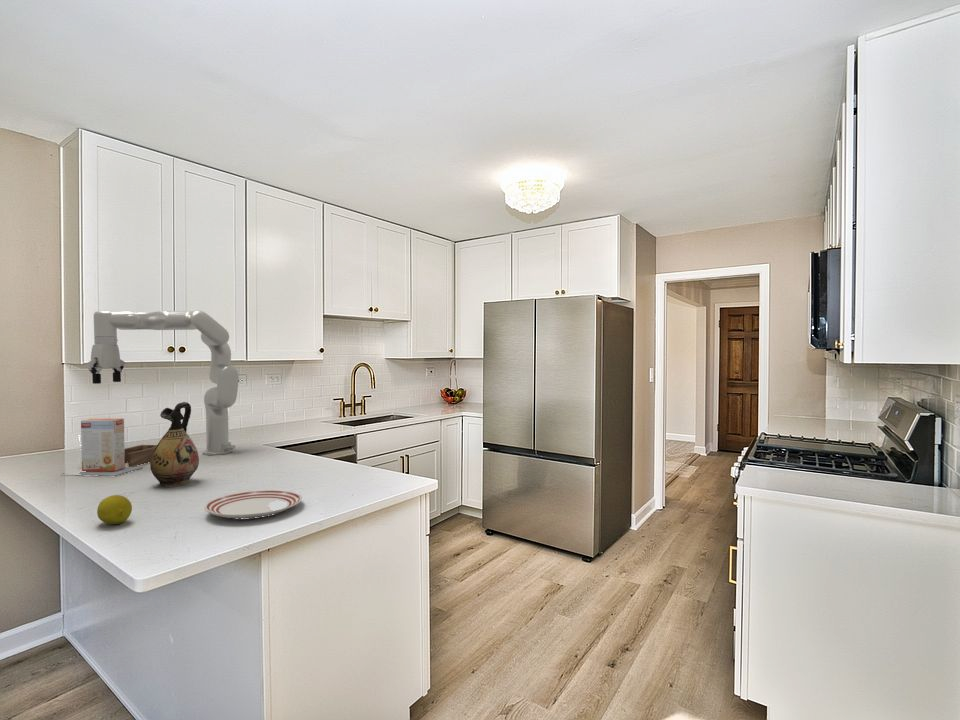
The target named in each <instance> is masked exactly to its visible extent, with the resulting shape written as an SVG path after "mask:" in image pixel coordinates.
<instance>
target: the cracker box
mask: <svg viewBox="0 0 960 720" xmlns="http://www.w3.org/2000/svg"><path fill="white" fill-rule="evenodd" d="M80 436H81V437H80V439H81V443H80V444H81V468H82V471H118V470H121V469H124V468H125V467H126V463H125V418H86V419H82V420H80Z"/></svg>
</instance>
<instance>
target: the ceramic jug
mask: <svg viewBox="0 0 960 720" xmlns="http://www.w3.org/2000/svg"><path fill="white" fill-rule="evenodd" d="M182 409H184V414H183V413H182V412H181V411H182ZM191 413H192V406H191V404H190V403H189V402H186V401H182V402H179V403H177V404H176V405H175V406H174V408H173V409H172V408H169V407H166V408H164V409H163V410H161V411H160V415H159V416H160V417H161V419H164V420H166V421H169V422H171V424H170V427H169V428H168V430H167V431H166V432H165V433H164V435H163V436H162V438H161V439H160V440H159V442H158V443H157V444H156V445H157V446H156V448H155V450H154V452H153V454H152V458H151V462H150V463H149V466H150V468H149V469H150V471H151V474H152V475H153V477H154V478H155V479H156V480H157V481H158V483H159V486H160V487H162V486H163V487H162V488H164V487H170V486H172V487H178V485H179V486H182V484H183V485H186V484H188V483H189V481H190V480H191V477H192V476H193V475H194V474H195V472H196V471H197V470H198V468H199V464H200V457H199V456H200V455H199V451H198V448H197V446H196V445H195V443H194V441H193V440H192V438H191V437H190V435H189V434H188V433H187V431H188V424H189V420H190V418H191ZM185 483H186V484H185Z"/></svg>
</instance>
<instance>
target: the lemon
mask: <svg viewBox="0 0 960 720" xmlns="http://www.w3.org/2000/svg"><path fill="white" fill-rule="evenodd" d="M96 509H97V511H96V514H97V518H98V519H99V520H100V521H101V522H102V523H105V524H107V525H119V524H122V523H124V522H126V521H127V520H128V519H129V517H131V514H132V510H133V505H132V502H131V501H130V500H129V499H128V497H126V496H124V495H120V494H113V495H112V494H111V495H109V496H107V497H105V498H103V499H102V500H101V501H100V502H99V504H98V506H97V508H96Z"/></svg>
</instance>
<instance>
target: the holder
mask: <svg viewBox="0 0 960 720" xmlns="http://www.w3.org/2000/svg"><path fill="white" fill-rule="evenodd" d="M157 445H158V444H138V445H134V446H130V447H126V448H125V462H126V463H127V464H128V466H127V467H134V466H135V467H138V466H137V465H139V466H142V465H145V464H144V463H146V464H149V463H148V462H151V458H152V454H153V452H154V450H155V448H156V446H157ZM127 461H128V462H127ZM141 464H142V465H141Z"/></svg>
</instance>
